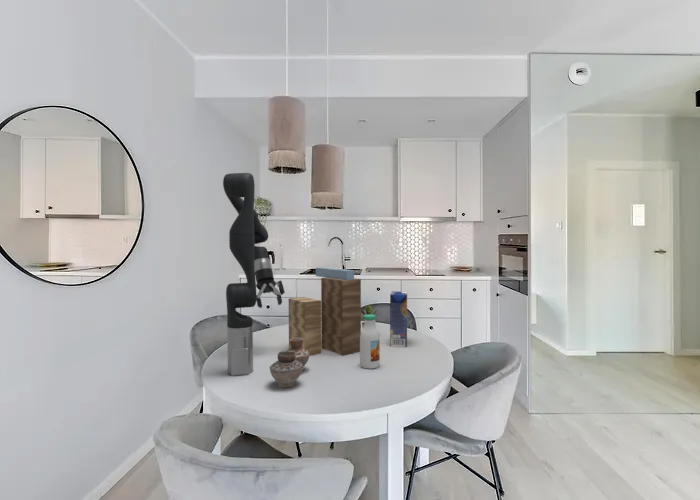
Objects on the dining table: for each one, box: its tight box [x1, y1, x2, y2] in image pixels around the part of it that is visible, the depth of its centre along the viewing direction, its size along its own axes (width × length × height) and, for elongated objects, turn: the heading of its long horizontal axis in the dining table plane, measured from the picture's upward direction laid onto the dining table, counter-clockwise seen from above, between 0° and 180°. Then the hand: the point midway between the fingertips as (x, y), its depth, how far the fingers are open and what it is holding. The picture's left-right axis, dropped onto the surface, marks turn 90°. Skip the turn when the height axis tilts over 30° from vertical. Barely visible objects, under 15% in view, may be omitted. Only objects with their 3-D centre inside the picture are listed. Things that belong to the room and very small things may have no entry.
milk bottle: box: [359, 313, 381, 370], centre depth 152 cm, size 8×8×20 cm
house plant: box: [361, 304, 380, 329], centre depth 202 cm, size 14×14×16 cm
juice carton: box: [389, 291, 408, 348], centre depth 185 cm, size 12×8×24 cm, turn 170°
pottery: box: [269, 338, 310, 388], centre depth 140 cm, size 11×25×12 cm, turn 175°
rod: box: [315, 266, 355, 280], centre depth 178 cm, size 24×4×4 cm, turn 39°
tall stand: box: [320, 277, 362, 356], centre depth 175 cm, size 16×10×32 cm, turn 39°
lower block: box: [288, 296, 322, 357], centre depth 173 cm, size 14×8×23 cm, turn 39°
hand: (270, 306), depth 166 cm, fingers open, 8 cm apart
